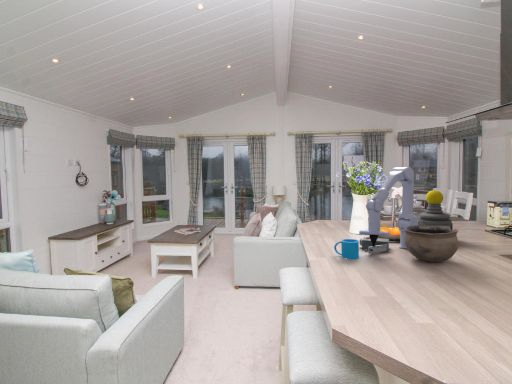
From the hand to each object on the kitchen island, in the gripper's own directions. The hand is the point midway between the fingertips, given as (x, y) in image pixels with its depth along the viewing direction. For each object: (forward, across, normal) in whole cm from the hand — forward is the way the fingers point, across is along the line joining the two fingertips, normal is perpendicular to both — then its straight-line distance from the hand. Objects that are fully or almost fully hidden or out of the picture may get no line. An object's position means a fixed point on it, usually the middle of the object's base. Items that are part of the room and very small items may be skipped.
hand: (374, 249), depth 163 cm
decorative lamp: (+1, +29, +42) cm, 51 cm away
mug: (+2, -12, -13) cm, 17 cm away
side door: (+1, +2, 0) cm, 3 cm away
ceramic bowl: (+2, +25, -6) cm, 26 cm away
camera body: (+2, 0, +9) cm, 9 cm away
